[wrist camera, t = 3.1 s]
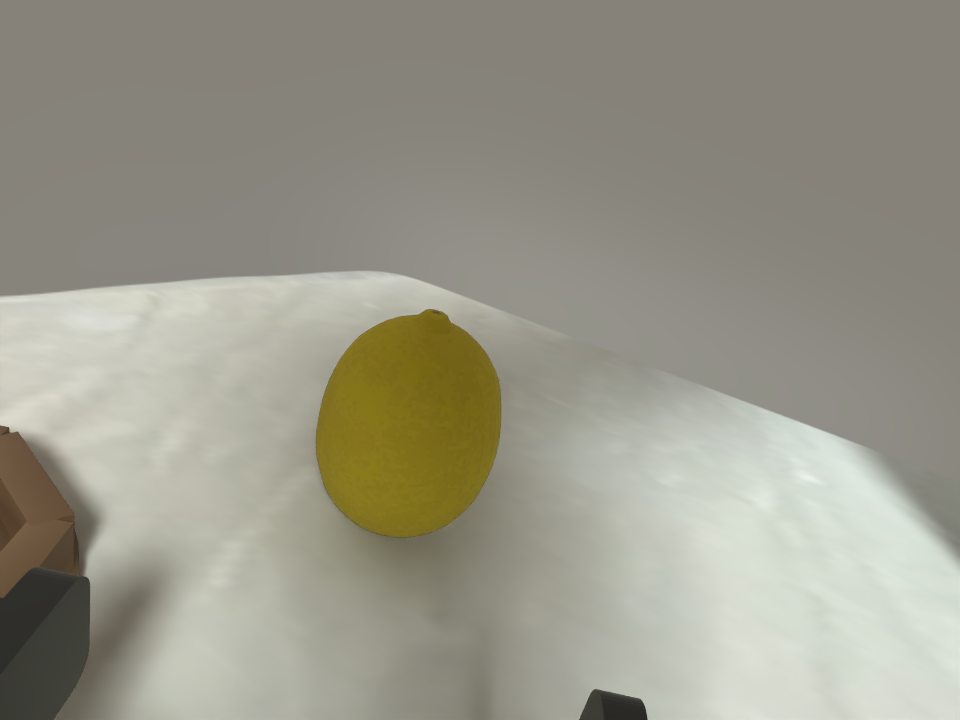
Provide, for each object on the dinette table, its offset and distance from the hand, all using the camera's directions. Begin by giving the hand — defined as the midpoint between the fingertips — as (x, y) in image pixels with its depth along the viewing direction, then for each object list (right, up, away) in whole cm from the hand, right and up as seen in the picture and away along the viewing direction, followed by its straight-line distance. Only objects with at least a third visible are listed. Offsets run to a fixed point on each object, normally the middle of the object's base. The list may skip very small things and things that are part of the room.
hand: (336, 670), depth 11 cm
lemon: (-1, -1, +13) cm, 13 cm away
